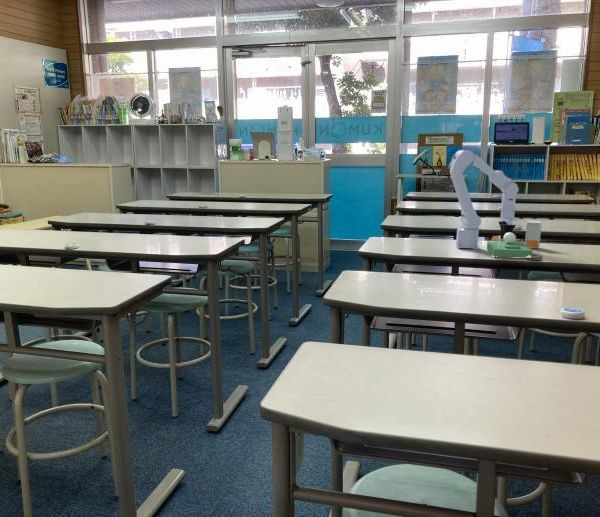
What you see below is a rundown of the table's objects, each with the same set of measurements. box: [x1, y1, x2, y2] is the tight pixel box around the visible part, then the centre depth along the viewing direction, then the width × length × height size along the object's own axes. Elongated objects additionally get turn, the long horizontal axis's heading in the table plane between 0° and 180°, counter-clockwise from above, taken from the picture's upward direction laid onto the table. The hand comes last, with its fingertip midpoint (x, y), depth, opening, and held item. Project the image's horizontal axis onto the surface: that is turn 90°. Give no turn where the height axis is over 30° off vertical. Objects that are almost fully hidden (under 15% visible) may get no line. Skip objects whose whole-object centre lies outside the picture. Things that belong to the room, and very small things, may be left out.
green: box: [486, 235, 533, 257], centre depth 231 cm, size 16×20×9 cm
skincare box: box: [524, 220, 543, 249], centre depth 244 cm, size 6×4×12 cm
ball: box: [502, 232, 517, 244], centre depth 236 cm, size 5×5×5 cm
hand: (505, 238), depth 245 cm, fingers open, 7 cm apart
